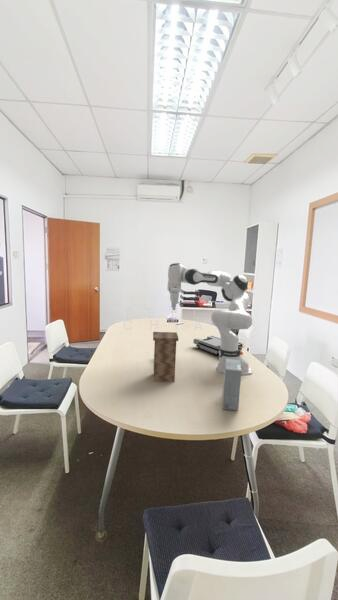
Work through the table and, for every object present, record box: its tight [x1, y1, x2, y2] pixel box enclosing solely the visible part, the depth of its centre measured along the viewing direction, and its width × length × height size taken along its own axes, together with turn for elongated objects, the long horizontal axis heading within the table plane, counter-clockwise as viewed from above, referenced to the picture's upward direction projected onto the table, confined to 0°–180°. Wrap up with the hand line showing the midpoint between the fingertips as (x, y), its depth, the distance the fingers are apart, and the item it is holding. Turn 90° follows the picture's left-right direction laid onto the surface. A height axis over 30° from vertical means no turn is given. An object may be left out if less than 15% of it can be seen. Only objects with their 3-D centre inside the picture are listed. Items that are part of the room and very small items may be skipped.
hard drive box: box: [221, 359, 242, 412], centre depth 139 cm, size 16×8×20 cm, turn 168°
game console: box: [192, 335, 243, 358], centre depth 220 cm, size 21×32×8 cm, turn 38°
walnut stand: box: [152, 331, 179, 383], centre depth 164 cm, size 14×13×26 cm
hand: (173, 308), depth 186 cm, fingers open, 8 cm apart
